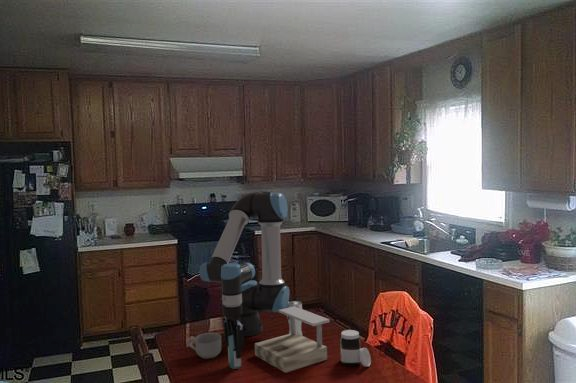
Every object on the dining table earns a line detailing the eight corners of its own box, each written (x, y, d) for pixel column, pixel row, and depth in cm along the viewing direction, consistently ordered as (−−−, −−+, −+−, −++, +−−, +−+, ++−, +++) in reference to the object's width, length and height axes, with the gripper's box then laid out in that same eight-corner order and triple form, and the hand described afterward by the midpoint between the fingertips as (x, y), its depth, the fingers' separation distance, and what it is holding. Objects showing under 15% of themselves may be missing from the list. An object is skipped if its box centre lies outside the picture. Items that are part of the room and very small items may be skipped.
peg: (227, 366, 192) (226, 336, 192) (237, 363, 195) (235, 333, 194) (232, 369, 189) (231, 338, 188) (242, 367, 191) (240, 336, 191)
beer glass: (301, 338, 220) (300, 305, 219) (286, 338, 221) (285, 305, 221) (304, 333, 227) (303, 301, 226) (289, 332, 228) (288, 300, 227)
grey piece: (279, 335, 211) (278, 309, 210) (295, 331, 215) (294, 306, 215) (314, 351, 191) (313, 323, 190) (330, 346, 195) (329, 319, 195)
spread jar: (340, 357, 197) (339, 328, 197) (368, 356, 197) (367, 328, 196) (342, 370, 185) (341, 339, 185) (372, 369, 185) (371, 338, 184)
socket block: (255, 355, 203) (254, 343, 203) (295, 343, 214) (294, 332, 214) (285, 372, 185) (284, 359, 184) (327, 359, 196) (326, 346, 196)
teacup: (226, 352, 207) (225, 333, 207) (214, 362, 197) (213, 342, 197) (197, 349, 212) (196, 331, 211) (183, 359, 202) (182, 339, 201)
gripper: (213, 301, 195) (216, 360, 197) (234, 311, 182) (236, 373, 183) (230, 298, 200) (233, 355, 201) (251, 307, 186) (254, 368, 187)
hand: (234, 364), depth 192 cm, fingers closed on peg, 4 cm apart
